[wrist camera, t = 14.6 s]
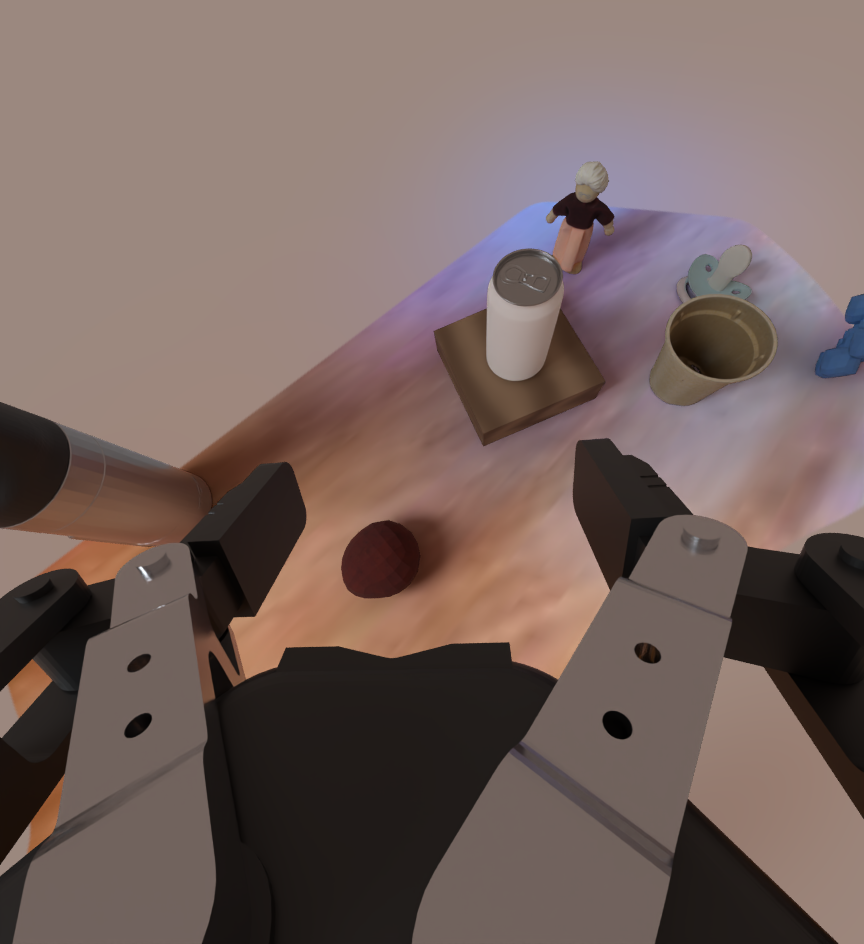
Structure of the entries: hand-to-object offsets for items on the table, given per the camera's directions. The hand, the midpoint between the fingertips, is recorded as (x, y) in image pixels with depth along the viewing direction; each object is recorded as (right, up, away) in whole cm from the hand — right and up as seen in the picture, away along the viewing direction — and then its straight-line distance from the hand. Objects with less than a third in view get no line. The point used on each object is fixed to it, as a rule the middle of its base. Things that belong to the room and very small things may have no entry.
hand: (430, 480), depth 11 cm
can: (+9, +13, +33) cm, 36 cm away
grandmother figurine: (+18, +27, +40) cm, 51 cm away
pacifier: (+33, +21, +36) cm, 53 cm away
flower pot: (+28, +10, +34) cm, 45 cm away
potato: (-5, -10, +32) cm, 34 cm away
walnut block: (+10, +12, +36) cm, 40 cm away
